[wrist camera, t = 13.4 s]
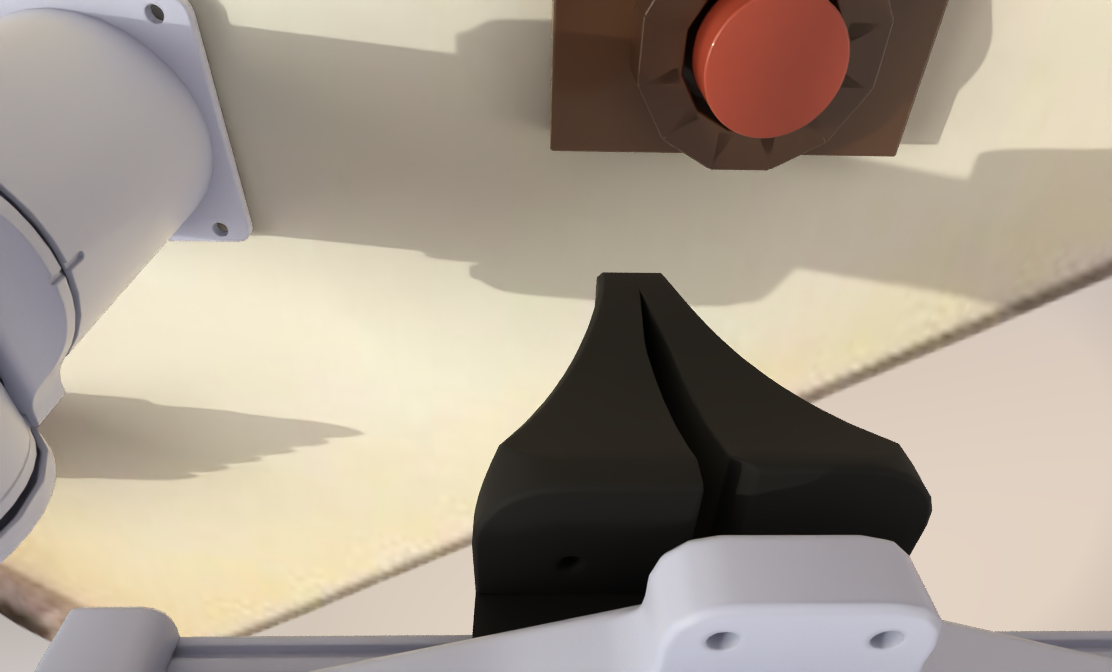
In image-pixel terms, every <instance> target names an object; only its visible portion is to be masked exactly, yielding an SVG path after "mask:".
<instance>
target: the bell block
mask: <svg viewBox="0 0 1112 672" xmlns="http://www.w3.org/2000/svg"><path fill="white" fill-rule="evenodd" d="M716 1H717V0H552V39H551V86H550V149H551V150H552V151H600V152H660V153H684V154H686V155H688V156H689V157H691V158H692V159H694V160H696V161H697V162H699V163H700V164H702V165H704V166H705V167H707V168H710V169H718V170H768V169H772V168H774V167H776V166H778V165H780V164H783V163H785V162H787V161H789V160H791V159H793V158H795V157H797V156H799V155H838V156H895V155H896V152H897V150H898V147H899V144H900V141H901V138H902V135H903V132H904V129H905V126H906V123H907V120H908V117H909V114H910V112H911V109H912V106H913V103H914V100H915V97H916V94H917V91H918V88H919V85H920V82H921V79H922V76H923V74H924V71H925V68H926V65H927V62H928V59H929V56H930V53H931V50H932V47H933V44H934V41H935V38H936V36H937V33H938V30H939V27H940V24H941V21H942V18H943V15H944V12H945V9H946V6H947V3H948V0H829V1H830V2H831V3H832V4H833V5H834V6H835V7H836V8H837V10H838V11H839V12H840V14H841V15H842V17H843V19H844V21H845V24H846V26H847V29H848V34H849V39H850V58H849V64H848V68H847V72H846V75H845V78H844V81H843V83H842V85H841V87H840V89H839V91H838V92H837V94H836V96H835V97H834V99H833V100H832V101H831V103H830V104H829V105H828V106H827V107H826V108H825V110H824V111H823V112H822V113H821V114H820V115H818V116H817V117H816V118H815V119H814V120H812V121H811V122H810V123H808V124H807V125H805V126H803V127H802V128H800V129H798V130H796V131H793V132H791V133H789V134H785V135H782V136H778V137H772V138H752V137H747V136H743V135H741V134H738V133H736V132H734V131H732V130H730V129H729V128H727V127H726V126H725V125H723V124H722V123H721V122H720V121H719V120H718V119H717V118H716V116H715V115H714V113H713V112H712V110H711V109H710V107H709V105H708V104H707V102H706V100H705V99H704V97H703V95H702V94H701V92H700V90H699V88H698V86H697V84H696V81H695V78H694V74H693V69H692V50H693V44H694V40H695V37H696V34H697V31H698V28H699V26H700V24H701V22H702V20H703V18H704V17H705V15H706V14H707V12H708V11H709V9H710V8H711V7H712V6H713V4H714V3H715V2H716Z"/></svg>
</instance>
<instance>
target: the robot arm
mask: <svg viewBox="0 0 1112 672" xmlns="http://www.w3.org/2000/svg"><path fill="white" fill-rule="evenodd" d="M152 4H154V5H157V6H158V7H159V8H160V9H161V10H162V11H163V13H164V20H159V19H157V18H156V17H155V16H154V15H153V13H152V11H151V5H152ZM217 223H221V224H223V225H225V226H226V227H227V229H228V231H224V230H222V229H220V228H219V227H218V225H217ZM252 231H253V226H252V222H251V218H250V214H249V211H248V207H247V203H246V200H245V196H244V192H243V189H242V185H241V181H240V178H239V174H238V170H237V167H236V163H235V159H234V156H233V152H232V148H231V144H230V141H229V137H228V133H227V130H226V126H225V122H224V119H223V115H222V111H221V108H220V104H219V100H218V97H217V93H216V89H215V86H214V82H213V78H212V75H211V71H210V67H209V64H208V60H207V56H206V52H205V49H204V45H203V41H202V38H201V34H200V30H199V27H198V23H197V19H196V16H195V12H194V10H193V8H192V5H191V4H190V3H189V2H188V1H187V0H0V563H2V562H3V561H4V560H5V559H6V558H7V557H8V556H9V555H10V554H11V553H12V552H13V551H14V550H15V549H16V548H17V547H18V546H19V544H20V543H21V542H22V541H23V540H24V539H25V538H26V537H27V535H28V534H29V533H30V532H31V531H32V529H33V528H34V526H35V525H36V523H37V522H38V520H39V519H40V518H41V516H42V515H43V513H44V511H45V509H46V507H47V505H48V503H49V501H50V499H51V496H52V493H53V489H54V485H55V481H56V462H55V459H54V456H53V453H52V450H51V448H50V446H49V445H48V444H47V442H46V441H45V439H44V438H43V436H42V435H41V433H40V432H39V431H38V429H37V428H36V427H38V426H39V425H40V424H41V423H42V421H43V420H44V419H45V418H46V417H47V415H48V414H49V413H50V412H51V410H52V409H53V408H54V407H55V406H56V404H57V403H58V402H59V401H60V399H61V398H62V397H63V396H64V395H65V390H64V387H63V385H62V383H61V378H60V367H61V364H62V362H63V360H64V358H65V357H66V356H67V355H68V354H69V353H70V351H71V350H72V349H73V348H74V347H75V346H76V345H77V343H78V342H79V341H80V340H81V339H82V338H83V337H84V335H85V334H86V333H87V332H88V331H89V330H90V329H91V327H92V326H93V325H94V324H95V323H96V322H97V321H98V320H99V318H100V317H101V316H102V315H103V314H104V313H105V312H106V310H107V309H108V308H109V307H110V306H111V305H112V304H113V302H114V301H115V300H116V299H117V298H118V297H119V296H120V294H121V293H122V292H123V291H124V290H125V289H126V288H127V286H128V285H129V284H130V283H131V282H132V281H133V280H134V278H135V277H136V276H137V275H138V274H139V273H140V272H141V270H142V269H143V268H144V267H145V266H146V265H147V264H148V262H149V261H150V260H151V259H152V258H153V257H154V256H155V255H156V253H157V252H158V251H159V250H160V249H161V248H162V247H163V245H164V244H165V243H166V242H167V241H222V242H240V241H245V240H246V239H247V238H248V237H249V236H250V234H251V233H252ZM931 512H932V504H931V496H930V495H929V493H928V491H927V489H926V487H925V486H924V484H923V482H922V480H921V479H920V476H919V475H918V473H917V471H916V469H915V467H914V466H913V464H912V463H911V461H910V460H909V458H908V457H907V455H906V454H905V452H904V451H903V449H902V448H901V446H900V445H899V444H898V443H895V442H893V441H891V440H888V439H886V438H883V437H881V436H878V435H876V434H874V433H871V432H869V431H866V430H864V429H861V428H859V427H856V426H854V425H852V424H849V423H847V422H845V421H843V420H841V419H839V418H837V417H835V416H833V415H831V414H829V413H827V412H825V411H823V410H821V409H819V408H818V407H815V406H814V405H812V404H810V403H809V402H807V401H805V400H803V399H802V398H800V397H798V396H797V395H795V394H793V393H792V392H790V391H789V390H787V389H785V388H784V387H782V386H780V385H779V384H777V383H776V382H774V381H773V380H772V379H770V378H769V377H767V376H766V375H764V374H763V373H762V372H760V371H759V370H758V369H756V368H755V367H754V366H752V365H751V364H750V363H749V362H747V361H746V360H745V359H743V358H742V357H741V356H740V355H739V354H737V353H736V352H735V351H734V350H733V349H732V348H731V347H729V346H728V345H727V344H726V343H725V342H724V341H723V340H722V339H721V338H720V337H718V336H717V335H716V334H715V333H714V332H713V331H712V330H711V329H710V328H709V327H708V326H707V325H706V324H705V322H704V321H703V320H702V319H701V318H700V317H699V316H698V315H697V314H696V313H695V312H694V311H693V310H692V308H691V307H690V306H689V305H688V304H687V303H686V302H685V300H684V299H683V298H682V297H681V296H680V295H679V293H678V292H677V291H676V290H675V289H674V287H673V286H672V285H671V284H670V283H669V282H668V280H667V279H666V278H665V277H664V276H663V275H662V274H661V273H602V274H600V275H599V276H598V277H597V285H596V299H595V308H594V311H593V314H592V317H591V321H590V324H589V326H588V329H587V331H586V334H585V336H584V338H583V340H582V343H581V345H580V347H579V349H578V351H577V353H576V355H575V357H574V359H573V361H572V362H571V364H570V366H569V367H568V369H567V371H566V372H565V374H564V376H563V377H562V378H561V380H560V381H559V383H558V384H557V386H556V387H555V389H554V390H553V391H552V393H551V394H550V395H549V397H548V398H547V399H546V400H545V402H544V403H543V404H542V405H541V406H540V407H539V408H538V409H537V410H536V411H535V413H534V414H533V415H532V416H531V417H530V418H529V419H528V420H527V421H526V422H525V423H524V424H523V425H522V426H521V427H520V428H519V429H518V430H517V431H515V432H514V433H513V434H512V435H511V436H510V437H509V438H507V439H506V440H505V441H504V442H503V443H502V444H500V445H499V447H498V449H497V451H496V453H495V456H494V458H493V460H492V462H491V464H490V467H489V469H488V471H487V474H486V476H485V479H484V481H483V484H482V487H481V490H480V493H479V496H478V500H477V504H476V508H475V513H474V524H473V538H472V549H473V562H474V575H475V586H476V598H475V609H474V623H473V634H472V635H410V636H409V635H404V636H403V635H400V636H399V635H398V636H258V637H257V636H242V637H180V636H179V633H178V630H177V627H176V626H175V624H174V622H173V621H172V619H171V618H170V617H169V616H168V615H167V614H166V613H164V612H162V611H159V610H157V609H155V608H147V607H78V608H75V609H72V610H71V611H70V612H69V613H68V615H67V617H66V618H65V620H64V622H63V624H62V625H61V627H60V629H59V630H58V632H57V634H56V635H55V637H54V639H53V640H52V642H51V644H50V646H49V647H48V649H47V651H46V652H45V654H44V656H43V658H42V659H41V661H40V662H39V664H38V666H37V668H36V669H35V671H34V672H1112V631H1020V632H1018V631H1016V632H1015V631H1014V632H1012V631H1011V632H993V631H988V630H984V629H980V628H975V627H971V626H967V625H962V624H958V623H953V622H949V621H945V620H941V618H940V616H939V614H938V612H937V610H936V608H935V606H934V604H933V602H932V600H931V598H930V596H929V594H928V592H927V590H926V588H925V586H924V584H923V582H922V580H921V578H920V576H919V574H918V572H917V570H916V568H915V566H914V564H913V562H912V560H911V558H910V554H911V552H912V550H913V549H914V547H915V545H916V543H917V541H918V540H919V538H920V536H921V534H922V533H923V531H924V529H925V527H926V526H927V523H928V520H929V518H930V515H931Z"/></svg>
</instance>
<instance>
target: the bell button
mask: <svg viewBox="0 0 1112 672" xmlns="http://www.w3.org/2000/svg"><path fill="white" fill-rule="evenodd" d="M849 58H850V39H849V34H848V29H847V26H846V24H845V21H844V19H843V17H842V15H841V14H840V12H839V11H838V10H837V8H836V7H835V6H834V5H833V4H832V3H831V2H830V1H829V0H717V1H716V2H715V3H714V4H713V6H712V7H711V8H710V9H709V11H708V12H707V14H706V15H705V17H704V18H703V20H702V22H701V24H700V26H699V28H698V31H697V34H696V37H695V40H694V44H693V50H692V69H693V74H694V78H695V81H696V84H697V86H698V88H699V90H700V92H701V94H702V95H703V97H704V99H705V100H706V102H707V104H708V105H709V107H710V109H711V110H712V112H713V113H714V115H715V116H716V118H717V119H718V120H719V121H720V122H721V123H722V124H723V125H725V126H726V127H727V128H729V129H730V130H732V131H734V132H736V133H738V134H741V135H743V136H747V137H752V138H772V137H778V136H782V135H785V134H789V133H791V132H793V131H796V130H798V129H800V128H802V127H803V126H805V125H807V124H808V123H810V122H811V121H812V120H814V119H815V118H816V117H817V116H818V115H820V114H821V113H822V112H823V111H824V110H825V108H826V107H827V106H828V105H829V104H830V103H831V101H832V100H833V99H834V97H835V96H836V94H837V92H838V91H839V89H840V87H841V85H842V83H843V81H844V78H845V75H846V72H847V68H848V64H849Z"/></svg>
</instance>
